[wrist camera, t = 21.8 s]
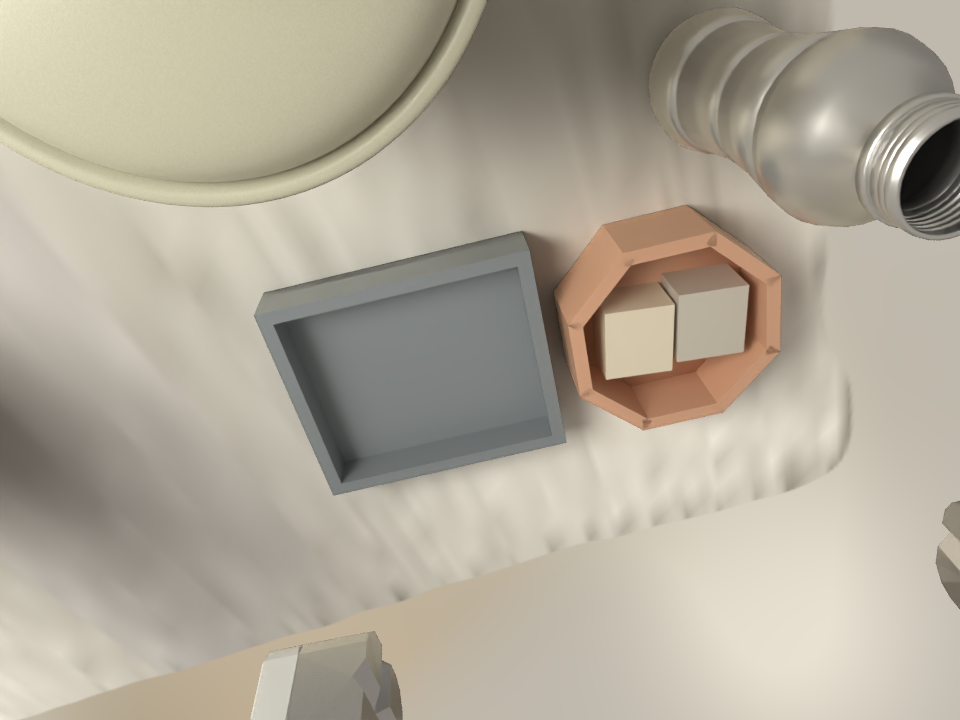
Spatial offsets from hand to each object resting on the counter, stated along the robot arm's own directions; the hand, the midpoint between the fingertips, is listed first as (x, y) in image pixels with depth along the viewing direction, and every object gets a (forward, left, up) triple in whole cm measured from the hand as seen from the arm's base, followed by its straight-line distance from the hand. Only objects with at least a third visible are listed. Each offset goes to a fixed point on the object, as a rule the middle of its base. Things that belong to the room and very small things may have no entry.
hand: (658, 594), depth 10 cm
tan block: (+6, -13, -30) cm, 34 cm away
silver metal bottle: (+12, 0, -31) cm, 33 cm away
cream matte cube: (+11, -13, -30) cm, 35 cm away
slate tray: (-7, -13, -31) cm, 34 cm away
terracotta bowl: (+8, -13, -31) cm, 35 cm away
